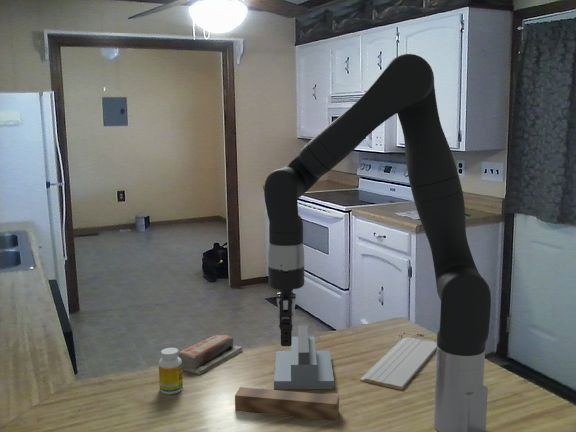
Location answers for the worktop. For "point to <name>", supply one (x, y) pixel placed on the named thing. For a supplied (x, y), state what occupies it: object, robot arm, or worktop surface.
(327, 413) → the walnut batten
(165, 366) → the supplement bottle
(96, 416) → the worktop surface
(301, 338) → the ridge stand
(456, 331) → the robot arm
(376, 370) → the baseboard molding
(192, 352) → the packaged product
